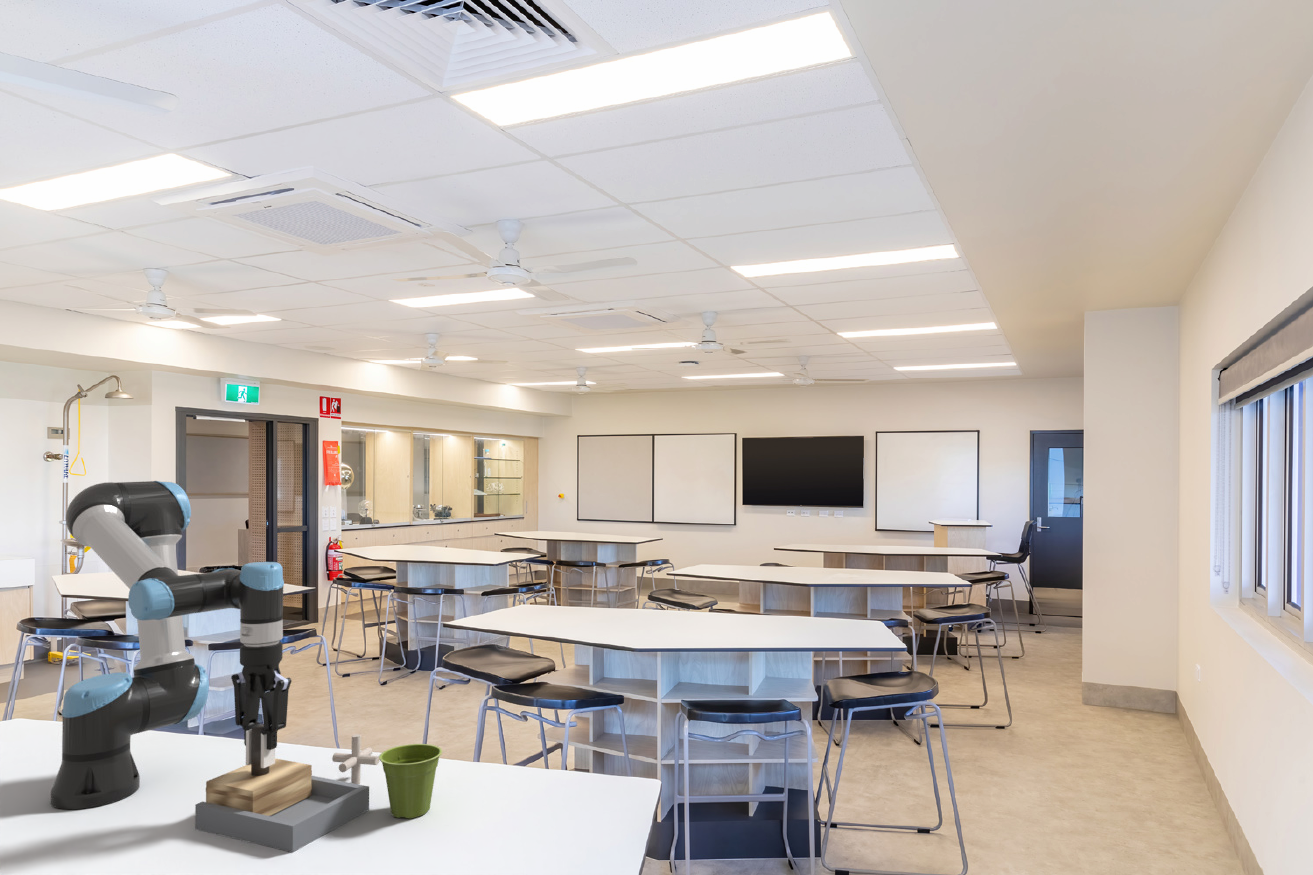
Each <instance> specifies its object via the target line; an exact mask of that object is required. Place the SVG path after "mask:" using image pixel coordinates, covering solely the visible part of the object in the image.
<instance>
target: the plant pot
mask: <svg viewBox="0 0 1313 875" xmlns="http://www.w3.org/2000/svg"><path fill="white" fill-rule="evenodd" d="M442 753H443V749H442V748H441V747H439V746H436V745H434V744H428V743H426V744H425V743H413V744H411V743H409V744H401V745H398V746H394V747H391V748H389V749H386V750H384V751H383V752H381V753H380V754H379V755H378V756H379V759H380V760H379V762H381V764H382V769H383V772H384V776H385V780H386V782H385V783H386V789H387V795H388V801H389V807H390V813H391V816H393V817H395V818H397V819H399V818H406V819H413V818H417V817H421V816H423V815H425V814H426V813H427V812H428V811H429V810H430V807H431V803H432V797H433V790H434V783H435V777H436V770H437V767H438V764H439V759H440V757H441V756H442Z"/></svg>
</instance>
